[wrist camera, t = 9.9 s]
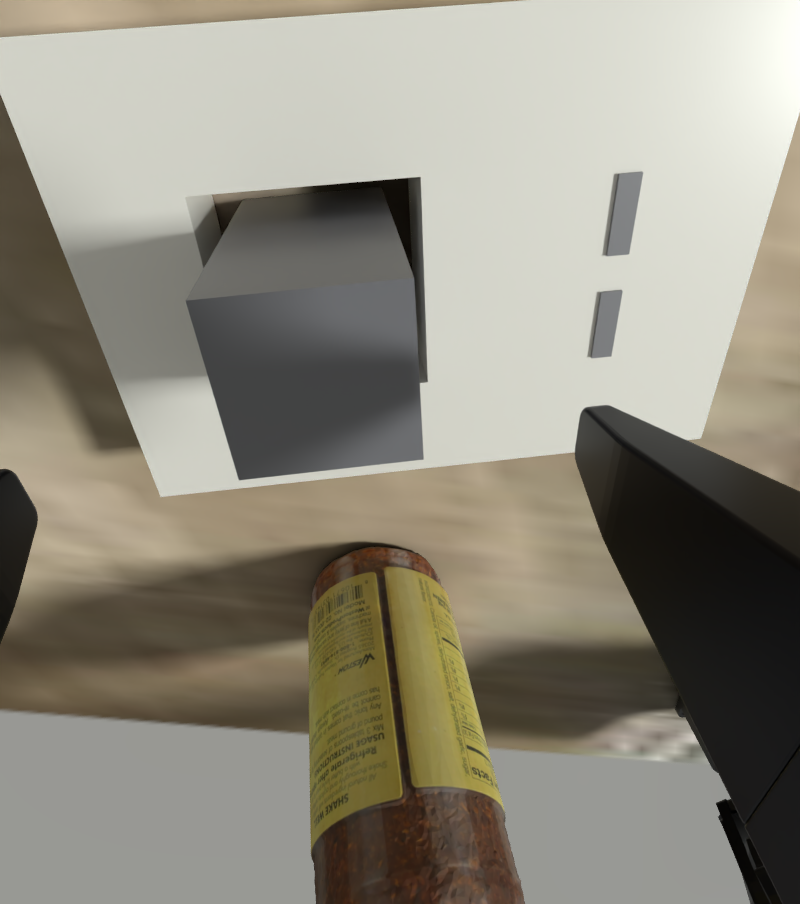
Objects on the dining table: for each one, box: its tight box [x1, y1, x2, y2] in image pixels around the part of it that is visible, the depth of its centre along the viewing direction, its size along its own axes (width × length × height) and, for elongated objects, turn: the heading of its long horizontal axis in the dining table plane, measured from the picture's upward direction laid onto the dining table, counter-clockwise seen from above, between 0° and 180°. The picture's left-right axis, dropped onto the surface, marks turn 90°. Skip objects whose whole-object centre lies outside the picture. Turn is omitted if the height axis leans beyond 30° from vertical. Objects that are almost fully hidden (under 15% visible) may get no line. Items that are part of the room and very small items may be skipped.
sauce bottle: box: [308, 547, 525, 904], centre depth 18 cm, size 6×6×20 cm
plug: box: [186, 187, 424, 480], centre depth 14 cm, size 4×4×8 cm
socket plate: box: [0, 0, 800, 497], centre depth 17 cm, size 18×12×3 cm, turn 93°
